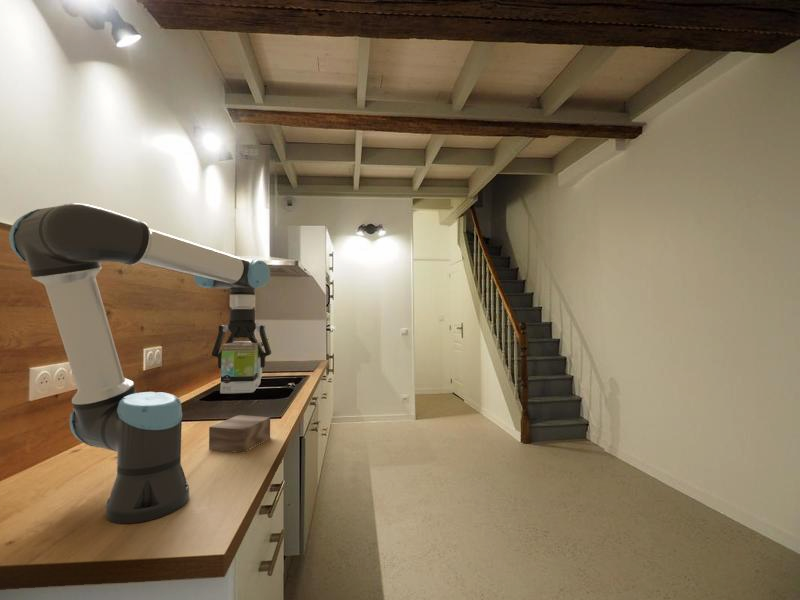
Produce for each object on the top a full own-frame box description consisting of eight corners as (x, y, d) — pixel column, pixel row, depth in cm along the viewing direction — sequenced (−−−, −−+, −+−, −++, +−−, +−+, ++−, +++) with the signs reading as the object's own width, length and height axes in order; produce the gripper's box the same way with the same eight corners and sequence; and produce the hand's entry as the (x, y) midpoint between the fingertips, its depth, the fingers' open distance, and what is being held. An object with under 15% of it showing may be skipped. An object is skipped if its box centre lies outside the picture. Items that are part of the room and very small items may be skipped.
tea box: (255, 393, 119) (255, 343, 120) (219, 394, 117) (220, 344, 117) (261, 383, 134) (261, 340, 134) (229, 384, 132) (230, 340, 132)
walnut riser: (243, 453, 117) (244, 429, 117) (208, 450, 119) (209, 426, 120) (270, 438, 130) (270, 417, 130) (238, 435, 133) (238, 415, 133)
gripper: (281, 308, 131) (280, 375, 131) (209, 308, 128) (208, 376, 128) (277, 308, 124) (276, 379, 123) (200, 308, 121) (199, 381, 120)
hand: (241, 378), depth 125 cm, fingers closed on tea box, 10 cm apart
